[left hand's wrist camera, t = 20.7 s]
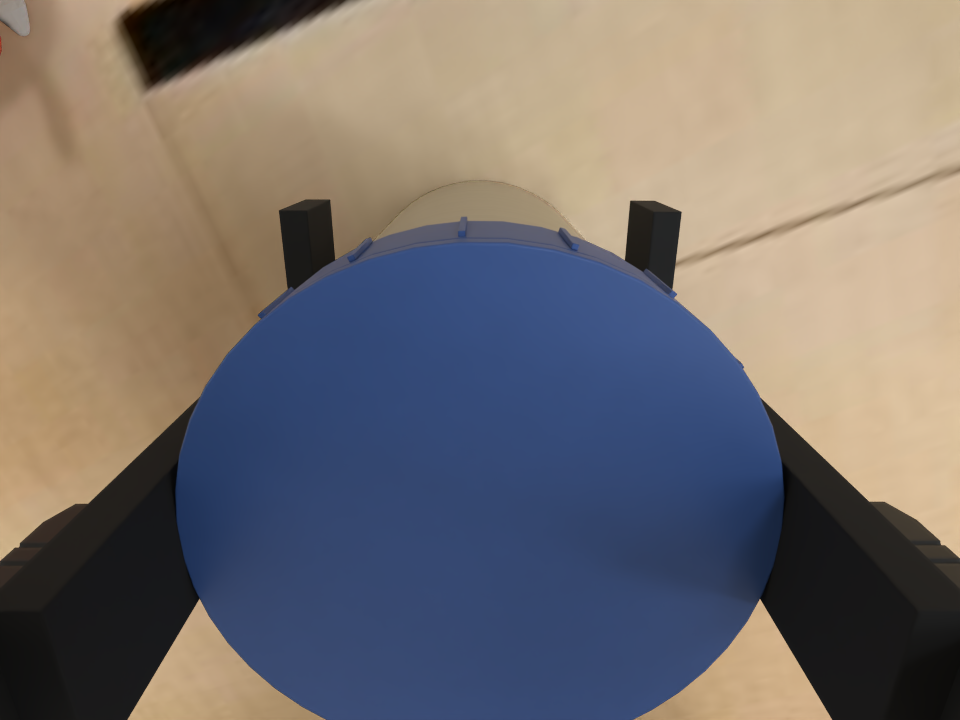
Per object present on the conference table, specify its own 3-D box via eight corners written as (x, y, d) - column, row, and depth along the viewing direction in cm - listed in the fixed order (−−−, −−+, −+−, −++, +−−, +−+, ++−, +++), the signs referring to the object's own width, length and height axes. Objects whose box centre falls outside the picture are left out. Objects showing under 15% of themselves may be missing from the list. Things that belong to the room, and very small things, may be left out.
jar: (452, 435, 28) (423, 768, 13) (321, 267, 25) (105, 456, 10) (632, 325, 26) (826, 572, 11) (512, 130, 23) (566, 132, 9)
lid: (168, 231, 10) (93, 255, 8) (765, 199, 10) (835, 216, 8) (270, 674, 14) (236, 766, 12) (714, 656, 14) (754, 747, 12)
